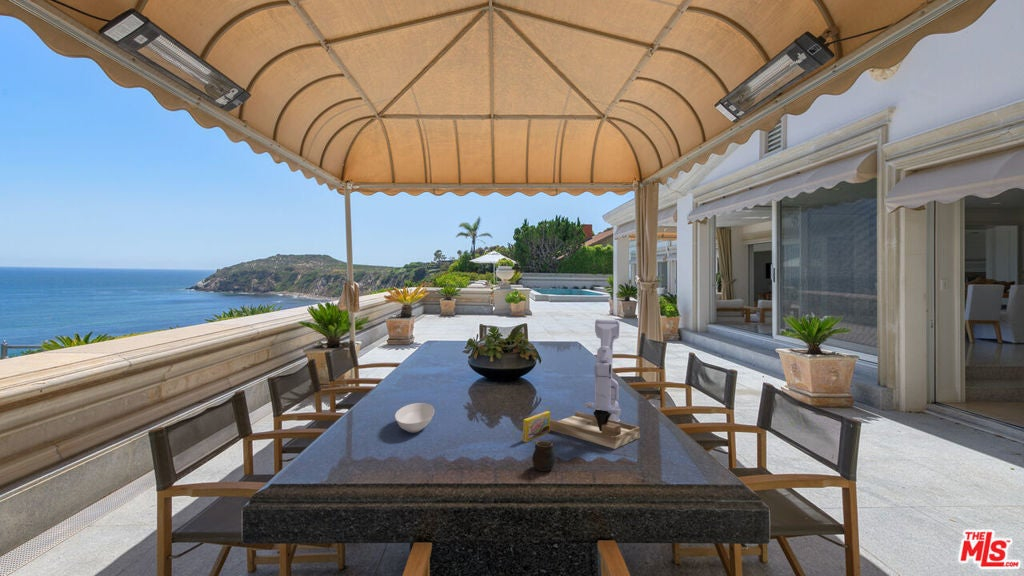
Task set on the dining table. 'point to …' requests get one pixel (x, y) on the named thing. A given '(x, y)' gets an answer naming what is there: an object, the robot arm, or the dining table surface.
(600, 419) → the robot arm
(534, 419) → the candy box
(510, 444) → the dining table surface
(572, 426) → the box
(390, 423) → the dining table surface
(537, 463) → the mate gourd
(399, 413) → the bowl
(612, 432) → the block
